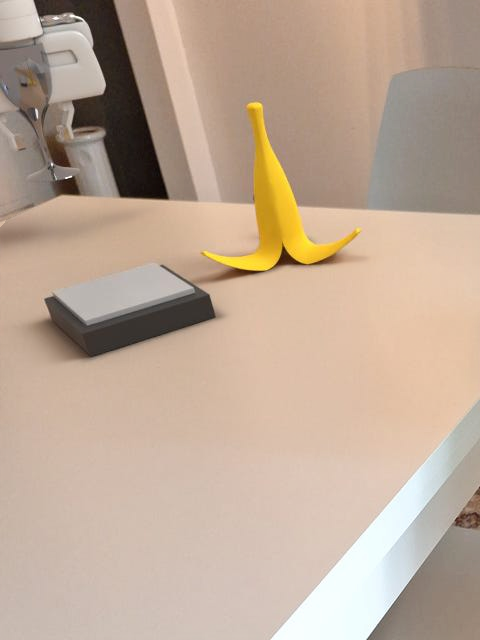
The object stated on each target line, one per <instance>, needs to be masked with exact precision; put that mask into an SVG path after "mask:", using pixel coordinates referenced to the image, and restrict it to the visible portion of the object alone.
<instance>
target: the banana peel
mask: <svg viewBox="0 0 480 640" xmlns="http://www.w3.org/2000/svg"><path fill="white" fill-rule="evenodd" d="M245 110H246V112H247V114H248V117H249V120H250V123H251V126H252V127H251V128H252V131H253V136H254V137H253V138H254V164H253V203H254V210H255V212H254V213H255V219H256V225H257V231H258V236H259V243H258V247H257V248H256V250H255V252H254V253H252V254H248V255H247V254H246V255H243V256H223V255H218V254H215V253H211V252H209V251H207V250H202V251H200V255H202V256H204V257H206V258H208V259H210V260H212V261H215V262H217V263H219V264H221V265H224V266H228V267H230V268H236V269H239V270H244V271H255V272H260V271H261V272H262V271H263V272H264V271H268V270H270V269H271V268H273V267H274V266H275V265H276V264H277V263H278V261H279V259H280V257H281V255H282V251H283V248H284V249H285V250H286V252H287V253H288V254H289V255H290V257H291V258H293V259H294V260H295V261H297V262H298V263H301V264H304V265H311V264H314V263H318V262H320V261H323V260H325V259H327V258H329V257H331V256H333V255H335V254H336V253H337V252H339V251H340V250H342V249H343V248H344V247H346V246H347V245H348V244H349V243H351V242H352V241H353V240H354V239H356V238H357V236H358V235H359V234H360V232H362V229H361V228H355V229H354V230H353V231H352V232H351V233H349V234H348V235H346V236H345V237H343V238H341V239H339V240H337V241H334V242H330V243H326V244H315V243H314V242H312V241H311V240H310V239H309V238H308V236H307V235H306V233H305V231H304V228H303V223H302V219H301V215H300V211H299V208H298V204H297V201H296V199H295V196H294V193H293V190H292V188H291V185H290V182H289V181H288V179H287V176H286V174H285V172H284V169H283V167H282V165H281V163H280V162H279V161H280V160H278V158H277V156H276V154H275V151H274V150H273V148H272V146H271V143H270V141H269V138H268V135H267V130H266V125H265V120H264V107H263V104H262V103H260V102H256V101H255V102H250V103H247V105H246V106H245Z"/></svg>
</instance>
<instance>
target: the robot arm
mask: <svg viewBox="0 0 480 640" xmlns="http://www.w3.org/2000/svg"><path fill="white" fill-rule="evenodd" d="M40 43H42V44H43V46H44V49H45V52H46V54H47V58H48V61H49V65H50V73H51V80H52V94H51V97H50V100H49V103H48V105H49V106H50V105H53V104H57V106H58V109H59V110H61V111H63V114H62V119H61V124H58V125H55V127H56V130H57V132H58V133H59V134H58V137H59V139H60V141H61V142H62V143H65V142H71V141H75V136H74V133H73V130H72V124H73V120H74V115H75V107H74V104H73V101H76V100H81V99H86V98H92V97H99V96H102V95H104V93H105V90H106V87H107V84H106V80H105V77H104V73H103V71H102V68H101V66H100V63H99V60H98V58H97V56H96V54H95V52H94V49H93V48H94V39H93V34H92V32H91V28H90V26H89V24H88V22H87V21H86V20H85V19H84V18H82V17H81V16H78V15H75V14H74V13H73V12H64V13H61V14H48V15H41V16H39V14H38V10H37V8H36V4H35V1H34V0H0V50H9V49H17V48H23V47H28V46H33V45H37V44H40ZM16 110H19V108H18V107H16V106H15V105H14V104H13V103H12V102H10V101H9V99H8V98H7V97H6V96H5V94H4V92H3V91H2V89H1V88H0V131H1V132H2V134H3V135H4V136H5V137H7V141H8V144H9V146H10V149H11V150H12V152H14V153H17V152H21V151H26V150H27V149H26V144H25V143H24V139H23V136H22V134H19V133H18V132H17V133H13V132H12V131H11V130H10V129H8V127H7V126H6V125H5V124H6V123H7V121H8V119H7V118H6V114H5V113H10V112H15V111H16Z"/></svg>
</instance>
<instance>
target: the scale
mask: <svg viewBox="0 0 480 640" xmlns="http://www.w3.org/2000/svg"><path fill="white" fill-rule="evenodd" d="M51 293H52V295H51V296H48V297H45V298H43V300H44V303H45V305H46V307H47V310H48V313H49V315H50V318H51V321H53V323H54V324H56V325H57V326H58V327H59V328H60V329H61V330H62V332H64V333H65V334H66V335H67V336H69V337H70V339H72V341H74V342H75V343H76V344H77V346H79V347H80V348H81V349H82V350H83V351H84V352H85V353H86V354H87V355H88V356H89V357H91V358H93V357H94V356H98V355H102V354H105V353H109V352H110V351H114V350H118V349H119V348H124V347H127V346H130V345H133V344H135V343H138V342H142V341H145V340H148V339H152V338H155V337H157V336H161V335H164V334H167V333H170V332H173V331H176V330H180V329H183V328H185V327H189V326H191V325H195V324H198V323H201V322H204V321H207V320H210V319H214V318H216V312H215V309H214V306H213V302H212V299H211V294H210V293H208V292H207V291H205V290H203V289H202V288H200V287H199V286H198V285H196V284H194V283H192V282H191V281H190V280H187V279H186V278H185V277H184V276H181V275H180V274H178V273H177V272H175V271H174V270H172V269H170V268H169V267H167V266H166V265H164V264H157V263H156V262H149V263H147V264H143V265H140V266H137V267H133V268H129V269H126V270H122V271H119V272H115V273H112V274H108V275H104V276H101V277H98V278H95V279H90V280H88V281H84V282H81V283H76V284H73V285H70V286H66V287H63V288H59V289H56V290H52V291H51Z"/></svg>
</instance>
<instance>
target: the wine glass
mask: <svg viewBox="0 0 480 640" xmlns="http://www.w3.org/2000/svg"><path fill="white" fill-rule="evenodd" d="M0 88H1V89H2V91H3V92H4V94H5V96H6V97H7V98H8V99H9V101H10V102H12V103H13V104H14V105H15V106H16V107H18V108H19V110H16V111H14V113H16V114H17V115H18V116H19V117H21V118H22V119H23V120H24V121H25V122H26V123H27V124H28V125H29V127H30V128H31V129H32V131H33V133H34V135H35V137H36V139H37V141H38V144H39V147H40V149H41V151H42V153H43V156H44V157H43V158H44V160H45V167H43V168H42V169H41V170H38V171H36V172H33V173H31V174H29V175H28V176H26V179H25V180H26V181H27V182H30V183H49V182H55V181H62V180H66V179H69V178H72V177H74V176H75V177H76V176H78V174H80V173H81V171H82V170H81V169H80V168H78V167H74V166H73V167H72V166H61V165H57V164H55V163H54V161H53V159H52V156H51V153H50V149H49V147H48V144H47V143H48V142H47V138H46V134H45V130H44V129H45V118H46V114H47V112H48V109H49V106H50V104H49V105H48V103H49V100H50V97H51V94H52V80H51V73H50V65H49V61H48V58H47V54H46V52H45V49H44V46H43V44H42V43H40V44H37V45H33V46H28V47H23V48H17V49H9V50H0Z"/></svg>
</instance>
